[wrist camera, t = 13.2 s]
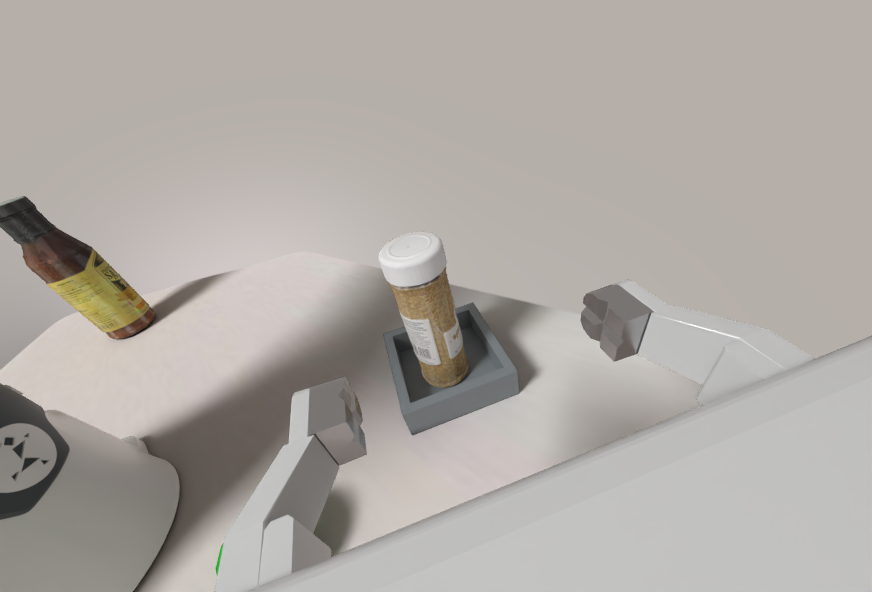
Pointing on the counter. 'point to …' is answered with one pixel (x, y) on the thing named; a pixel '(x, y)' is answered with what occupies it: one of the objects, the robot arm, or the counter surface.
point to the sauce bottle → (75, 271)
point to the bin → (478, 389)
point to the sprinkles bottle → (426, 305)
